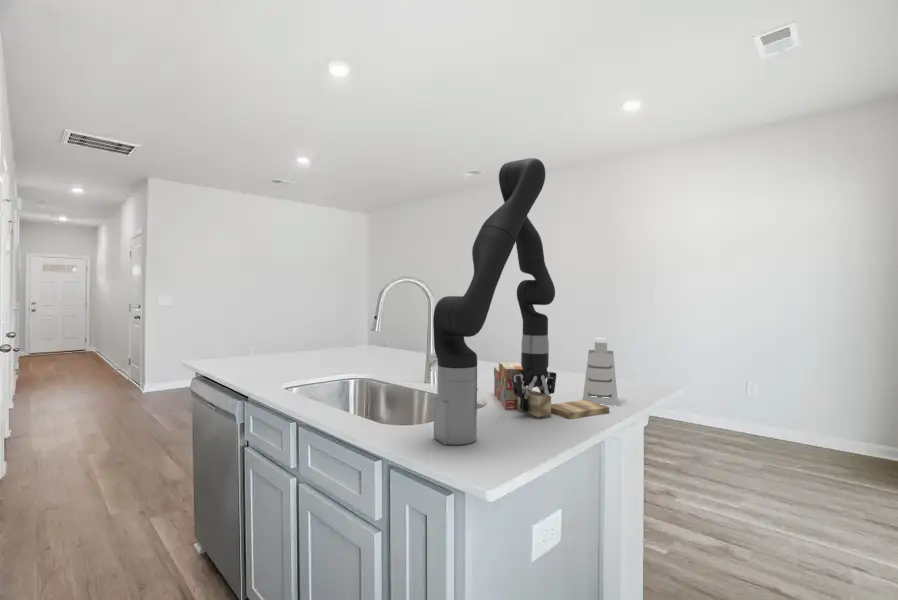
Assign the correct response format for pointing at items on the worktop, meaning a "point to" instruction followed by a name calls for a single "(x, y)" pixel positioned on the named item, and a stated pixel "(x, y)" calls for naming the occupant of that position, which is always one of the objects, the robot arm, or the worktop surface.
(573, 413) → the board
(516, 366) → the stack of blocks
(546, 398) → the block
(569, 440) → the worktop surface
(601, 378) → the grater
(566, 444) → the worktop surface
